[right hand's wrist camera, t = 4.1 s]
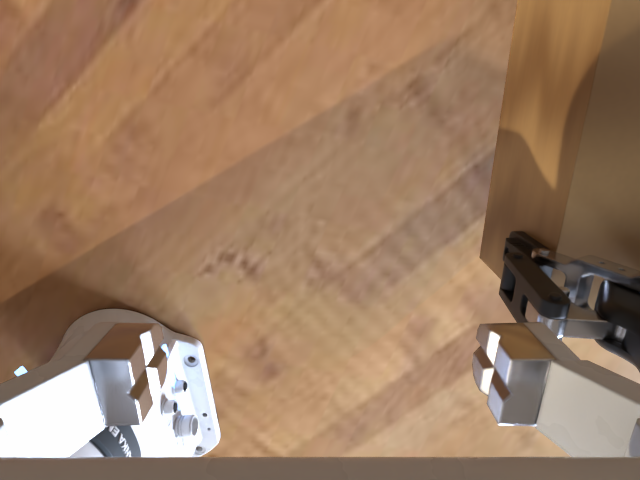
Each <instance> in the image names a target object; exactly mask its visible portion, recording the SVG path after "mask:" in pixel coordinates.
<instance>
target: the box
mask: <svg viewBox="0 0 640 480" xmlns="http://www.w3.org/2000/svg"><path fill="white" fill-rule="evenodd" d="M512 231H523V232H525V233H526V234H528V235H529V236H531V237H532V238H534V239H535V240H537V241H538V242H540V243H541V244H543V245H544V246H546V247H547V248H549V249H550V250H551V251H554V252H557V253H560V254H563V255H566V256H568V257H571V258H574V259H576V258H580V257H583V256H587V255H593V256H596V257H599V258H602V259H605V260H608V261H612V262H615V263H618V264H621V265H624V266H627V267H630V268H633V269H636V270H639V271H640V0H518V1H517V8H516V15H515V22H514V28H513V35H512V42H511V49H510V55H509V62H508V69H507V76H506V82H505V89H504V96H503V103H502V109H501V116H500V123H499V130H498V136H497V143H496V150H495V157H494V163H493V170H492V177H491V184H490V191H489V197H488V204H487V211H486V218H485V224H484V231H483V238H482V245H481V251H480V259H481V260H482V261H483V262H484V263H485V264H486V265H487V266H488V267H489V268H490V269H491V270H492V271H493V272H494V273H495V274H496V275H497V276H498V277H499V278H500V279H502V273H503V267H504V261H503V252H504V246H505V240H506V238H509V235H510V233H511V232H512ZM565 279H566V277H565V274H564V273H563V272H561V271H559V270H556V269H554V268H553V271H552V276H551V280H552V281H553V282H554V283H555V284H556V285H557V286H558V287H561V286H562V287H564V283H565ZM603 280H605V279H604V278H601V277H598V276H596V275H594V279H593V283H592V287H591V290H590V294H589V298H588V304H589V306H590V308H591V309H592V310H594V308H595V302H596V298H597V295H598V291H599V287H600V285H601V283H602V282H603Z"/></svg>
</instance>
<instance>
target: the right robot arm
mask: <svg viewBox="0 0 640 480" xmlns="http://www.w3.org/2000/svg"><path fill="white" fill-rule="evenodd" d="M476 339H477V341H478V342H479V344H480V345H481V346H480V347H479V348H478V349H477V350H476V351H475V352H474V354H473V362H472V367H473V376H474V379H475V382H476V385H477V387H478V388H479V390H480V391H481V392H482V393H484V394H485V395H487V396H488V400H487V405H488V407H489V409H490V411H491V412H492V414H493V416H494V418H495V420H496V421H497V423H498V425H510V426H536V427H535V428H536V429H537V430H539V431H540V432H541V433H542V434H544V435H545V436H546V437H547V438H549V439H550V440H551V441H552V442H554V443H555V444H556V445H557V446H559V447H560V448H561V449H562V450H564V451H565V452H566V453H568V454H569V455H570V456H571V457H200V456H202V455H204V454H205V453H207V452H209V451H210V450H211V449H213V448H214V447H215V446H216V445H217V444H218V442H219V439H220V429H219V424H218V419H217V414H216V410H215V405H214V400H213V395H212V390H211V385H210V380H209V375H208V370H207V365H206V360H205V356H204V351H203V346H202V344H201V342H200V341H199V340H197V339H195V338H193V337H190V336H187V335H183V334H179V333H175V332H173V331H171V330H170V329H168V328H166V327H165V326H164V325H162V324H161V323H159V322H157V321H156V320H154V319H152V318H150V317H148V316H146V315H143V314H141V313H138V312H134V311H130V310H124V309H103V310H97V311H94V312H91V313H88V314H86V315H84V316H82V317H80V318H79V319H77V320H76V321H75V322H74V323H73V324H72V325H71V326H70V327H69V328H68V329H67V331H66V333H65V334H64V337H63V339H62V341H61V343H60V345H59V347H58V349H57V350H56V352H55V354H54V355H53V357H52V358H51V360H50V361H49V362H48V363H46V364H43V365H41V366H39V367H37V368H35V369H32V370H30V371H28V372H27V371H26V369H25V368H24V367H23V366H21V367H20V368H19V369H18V370H16V371H15V372H14V373H15V374H16V375H17V377H15V378H13V379H10V380H8V381H6V382H4V383H2V384H0V480H640V384H638V383H636V382H634V381H632V380H630V379H627V378H625V377H623V376H621V375H619V374H616V373H614V372H612V371H610V370H608V369H605V368H603V367H601V366H599V365H596V364H594V363H592V362H590V361H588V360H580V359H579V358H578V357H577V356H576V355H575V354H574V353H573V352H572V351H571V350H570V349H569V348H568V347H567V346H566V345H565V344H564V343H563V342H562V341H561V340H560V339H559V338H558V337H557V336H556V335H555V334H554V333H553V332H552V331H551V330H550V329H549V328H548V327H547V326H546V325H545V324H543V323H541V322H527V323H493V324H480V325H479V327H478V329H477V335H476ZM190 356H192V357H194V358H195V359H192V358H191V357H190Z"/></svg>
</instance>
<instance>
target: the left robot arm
mask: <svg viewBox="0 0 640 480" xmlns="http://www.w3.org/2000/svg"><path fill="white" fill-rule="evenodd" d="M503 261H504V267H503V273H502V279H501V284H500V290H499V295H500V297H501V298H502V300H503V301H504V303H505V305H506V306H507V308H508V309H509V311H510V312H511V314H512V315H513V317H514V319H515V320H516V322H517V323H527V322H541V323H543V324H545V325H546V326H547V327H548V328H549V329H550V330H551V331H552V332H553V333H554V334H555V335H556V336H557V337H558V338H559V339H560V340H561V341H562V337H572V338H587V339H595V341H596V342H597V343H598V344H599V345H600V346H601V347H603V348H604V349H606V350H607V351H609V352H611V353H614V354H616V355H618V356H620V357H621V358H623V359H625V360H627V361H628V362H630V363H632V364H633V365H634V366H636V367H637V369H638V370H639V372H640V271H639V270H636V269H633V268H630V267H627V266H624V265H621V264H618V263H615V262H612V261H608V260H605V259H602V258H599V257H596V256H593V255H587V256H583V257H580V258H576V259H574V258H571V257H568V256H566V255H563V254H560V253H557V252H554V251H551V250H550V249H549V248H547V247H546V246H544V245H543V244H541V243H540V242H538V241H537V240H535V239H534V238H532V237H531V236H529V235H528V234H526V233H525V232H523V231H512V232H511V233H510V235H509V238H506V240H505V246H504V252H503ZM553 268H554V269H556V270H559V271H561V272H563V273H564V274H565V277H566V279H565V283H564V287H562V286H561V287H558V286H557V285H556V284H555V283H554V282H553V281H552V280H551V276H552V271H553ZM594 275H596V276H598V277H601V278H604V279H605V280H603V282H602V283H601V285H600V287H599V291H598V295H597V298H596V302H595V308H594V310H592V309H591V308H590V306H589V304H588V298H589V294H590V290H591V287H592V283H593V279H594Z"/></svg>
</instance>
